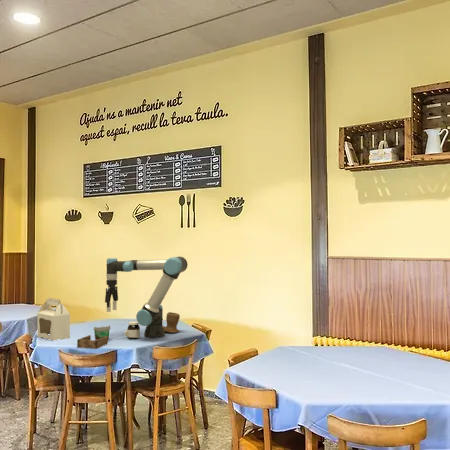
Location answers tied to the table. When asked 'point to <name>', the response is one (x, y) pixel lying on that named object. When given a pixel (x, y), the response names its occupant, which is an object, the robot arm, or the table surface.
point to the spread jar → (133, 330)
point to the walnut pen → (91, 342)
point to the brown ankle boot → (171, 322)
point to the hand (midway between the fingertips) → (111, 310)
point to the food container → (101, 332)
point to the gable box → (53, 321)
